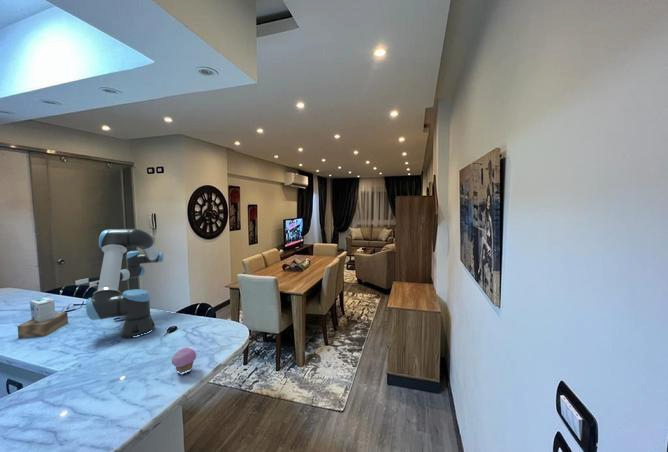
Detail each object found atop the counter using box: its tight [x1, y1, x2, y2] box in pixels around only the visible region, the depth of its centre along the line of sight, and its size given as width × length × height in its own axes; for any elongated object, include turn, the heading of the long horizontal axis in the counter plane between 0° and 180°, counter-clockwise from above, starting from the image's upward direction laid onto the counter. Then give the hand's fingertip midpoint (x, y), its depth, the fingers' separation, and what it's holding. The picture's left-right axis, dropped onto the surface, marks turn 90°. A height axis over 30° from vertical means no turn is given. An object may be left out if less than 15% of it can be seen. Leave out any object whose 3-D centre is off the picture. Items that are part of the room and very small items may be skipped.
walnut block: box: [17, 311, 69, 339], centre depth 149 cm, size 12×16×7 cm
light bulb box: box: [29, 296, 56, 323], centre depth 148 cm, size 11×7×11 cm, turn 66°
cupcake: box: [171, 347, 197, 373], centre depth 111 cm, size 9×9×10 cm
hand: (82, 283), depth 164 cm, fingers open, 13 cm apart
